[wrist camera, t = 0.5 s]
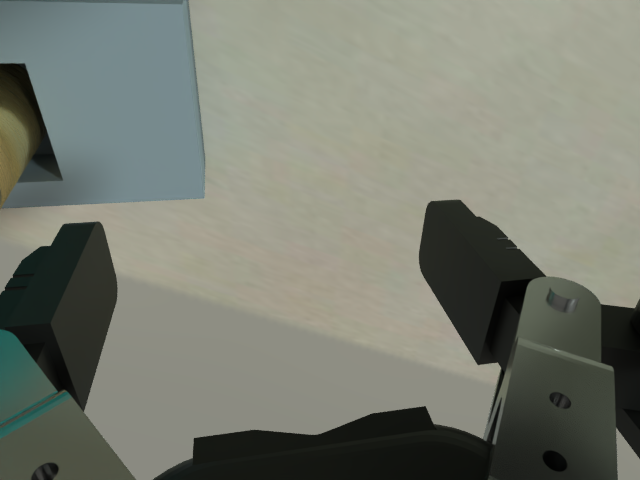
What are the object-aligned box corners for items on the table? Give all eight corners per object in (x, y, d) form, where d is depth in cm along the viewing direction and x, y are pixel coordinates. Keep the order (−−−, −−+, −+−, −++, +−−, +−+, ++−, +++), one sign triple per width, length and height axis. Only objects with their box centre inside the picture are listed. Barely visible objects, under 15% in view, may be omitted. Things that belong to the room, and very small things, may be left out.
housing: (-131, -25, 21) (-197, -4, 18) (186, -17, 24) (182, 4, 20) (-40, 168, 28) (-76, 212, 24) (205, 159, 30) (204, 198, 27)
